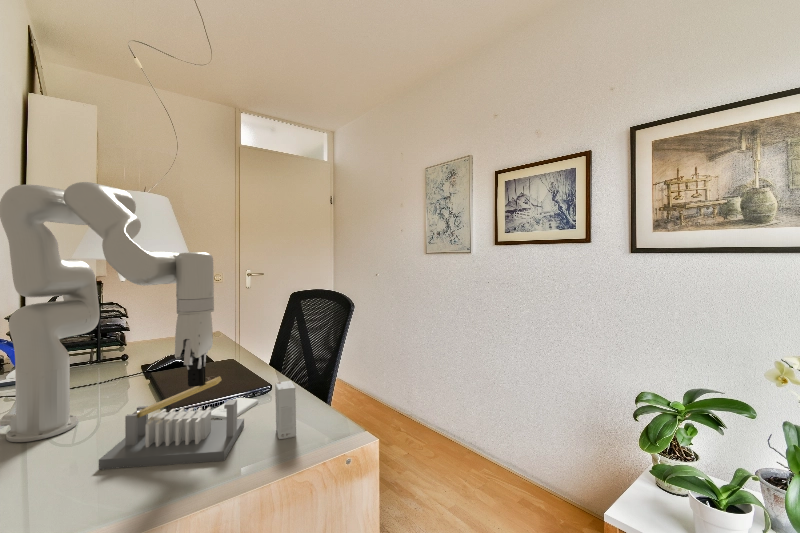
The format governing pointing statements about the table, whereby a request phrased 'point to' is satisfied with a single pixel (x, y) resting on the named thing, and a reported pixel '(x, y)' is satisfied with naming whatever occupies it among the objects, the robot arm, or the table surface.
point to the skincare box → (285, 409)
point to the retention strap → (177, 397)
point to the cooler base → (173, 452)
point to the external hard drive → (242, 406)
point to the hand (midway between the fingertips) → (196, 384)
